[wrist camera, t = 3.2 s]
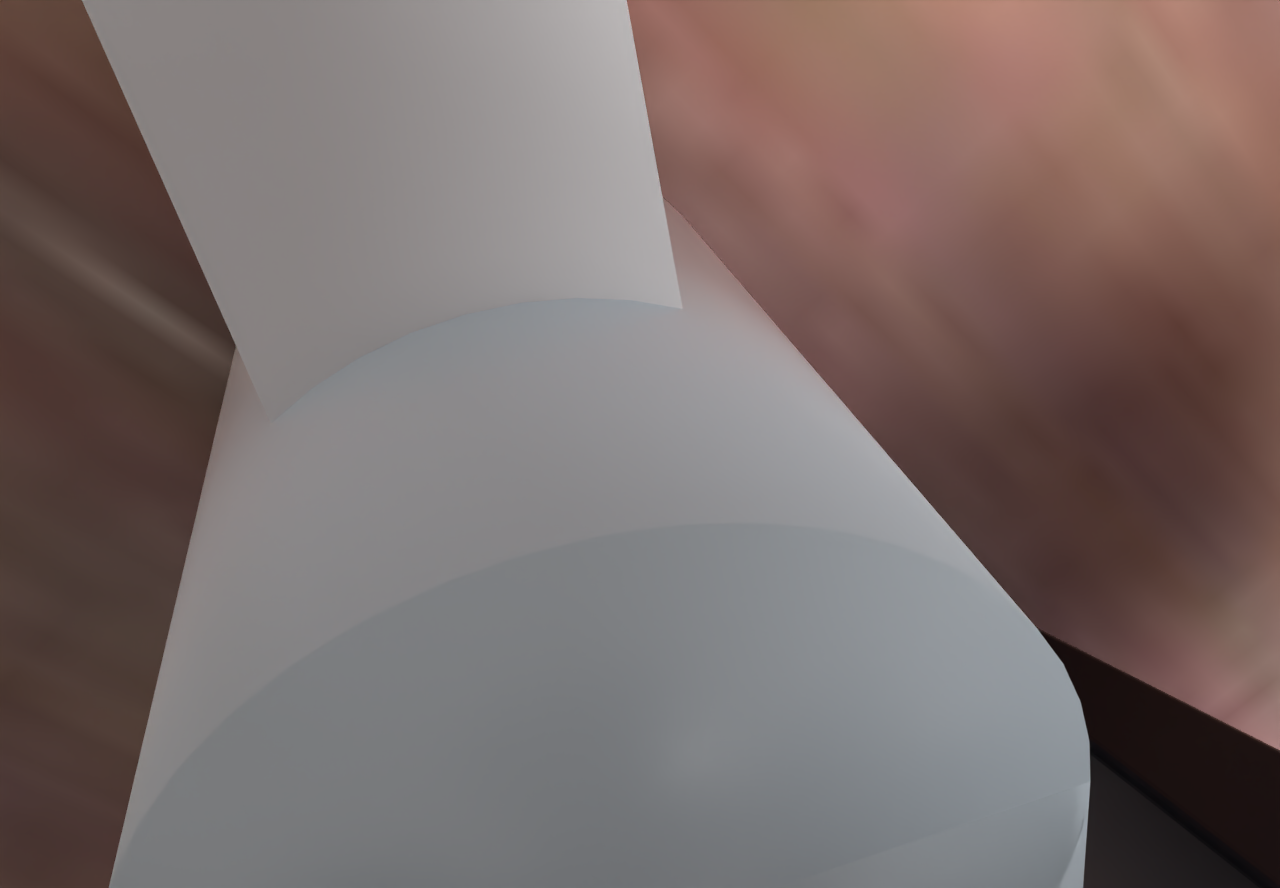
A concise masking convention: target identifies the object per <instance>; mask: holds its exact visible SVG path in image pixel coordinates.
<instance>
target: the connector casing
mask: <svg viewBox="0 0 1280 888" xmlns="http://www.w3.org/2000/svg"><path fill="white" fill-rule="evenodd" d="M82 2H83V4H84V6H85V8H86V11H87V13H88V15H89V17H90V20H91V22H92V24H93V26H94V29H95V31H96V33H97V35H98V38H99V40H100V42H101V44H102V46H103V49H104V51H105V53H106V55H107V58H108V60H109V62H110V64H111V67H112V69H113V71H114V73H115V76H116V78H117V80H118V82H119V85H120V87H121V89H122V91H123V94H124V96H125V98H126V100H127V103H128V105H129V107H130V109H131V111H132V114H133V116H134V118H135V120H136V123H137V125H138V127H139V129H140V132H141V134H142V136H143V138H144V141H145V143H146V145H147V147H148V150H149V152H150V154H151V156H152V159H153V161H154V163H155V165H156V168H157V170H158V172H159V174H160V177H161V179H162V181H163V183H164V185H165V188H166V190H167V192H168V194H169V197H170V199H171V201H172V203H173V206H174V208H175V210H176V212H177V215H178V217H179V219H180V221H181V224H182V226H183V228H184V230H185V233H186V235H187V237H188V239H189V242H190V244H191V246H192V248H193V250H194V253H195V255H196V257H197V259H198V262H199V264H200V266H201V268H202V271H203V273H204V275H205V277H206V280H207V282H208V284H209V286H210V289H211V291H212V293H213V295H214V298H215V300H216V302H217V304H218V307H219V309H220V311H221V313H222V316H223V318H224V320H225V322H226V324H227V327H228V329H229V331H230V333H231V336H232V338H233V340H234V342H235V345H236V347H235V352H234V356H233V360H232V364H231V369H230V373H229V377H228V381H227V386H226V390H225V394H224V398H223V403H222V407H221V411H220V415H219V420H218V424H217V428H216V433H215V437H214V441H213V445H212V450H211V454H210V458H209V462H208V467H207V471H206V475H205V479H204V484H203V488H202V492H201V497H200V501H199V505H198V509H197V514H196V518H195V522H194V526H193V531H192V535H191V539H190V543H189V548H188V552H187V556H186V561H185V565H184V569H183V573H182V578H181V582H180V586H179V590H178V595H177V599H176V603H175V607H174V612H173V616H172V620H171V625H170V629H169V633H168V637H167V642H166V646H165V650H164V654H163V659H162V663H161V667H160V671H159V676H158V680H157V684H156V688H155V693H154V697H153V701H152V706H151V710H150V714H149V718H148V723H147V727H146V731H145V735H144V740H143V744H142V748H141V752H140V757H139V761H138V765H137V770H136V774H135V778H134V782H133V787H132V791H131V795H130V799H129V804H128V808H127V812H126V816H125V821H124V825H123V829H122V834H121V838H120V842H119V846H118V851H117V855H116V859H115V863H114V868H113V872H112V876H111V880H110V885H109V888H1083V881H1084V866H1085V852H1086V837H1087V823H1088V808H1089V794H1090V744H1089V737H1088V733H1087V728H1086V724H1085V719H1084V715H1083V710H1082V706H1081V702H1080V699H1079V697H1078V695H1077V693H1076V691H1075V688H1074V686H1073V684H1072V682H1071V680H1070V677H1069V675H1068V673H1067V671H1066V669H1065V667H1064V664H1063V663H1062V661H1061V660H1060V659H1059V657H1058V656H1057V655H1056V653H1055V652H1054V651H1053V649H1052V648H1051V647H1050V645H1049V644H1048V643H1047V641H1046V640H1045V638H1044V637H1043V636H1042V634H1041V633H1040V632H1039V630H1038V629H1037V628H1036V627H1035V625H1034V624H1033V623H1032V622H1031V621H1030V620H1029V618H1028V617H1027V616H1026V615H1025V614H1024V613H1023V611H1022V610H1021V609H1020V608H1019V607H1018V606H1017V604H1016V603H1015V602H1014V601H1013V600H1012V599H1011V597H1010V596H1009V595H1008V594H1007V593H1006V592H1005V591H1004V589H1003V588H1002V587H1001V586H1000V585H999V584H998V582H997V581H996V580H995V579H994V578H993V577H992V575H991V574H990V573H989V572H988V571H987V570H986V568H985V567H984V566H983V565H982V564H981V563H980V561H979V560H978V559H977V558H976V557H975V556H974V554H973V553H972V552H971V551H970V550H969V549H968V547H967V546H966V545H965V544H964V543H963V542H962V540H961V539H960V538H959V537H958V536H957V535H956V533H955V532H954V531H953V530H952V529H951V528H950V527H949V525H948V524H947V523H946V522H945V521H944V520H943V518H942V517H941V516H940V515H939V514H938V513H937V511H936V510H935V509H934V508H933V507H932V506H931V504H930V503H929V502H928V501H927V500H926V499H925V497H924V496H923V495H922V494H921V493H920V492H919V490H918V489H917V488H916V487H915V486H914V485H913V483H912V482H911V481H910V480H909V479H908V478H907V476H906V475H905V474H904V473H903V472H902V471H901V469H900V468H899V467H898V466H897V465H896V464H895V463H894V461H893V460H892V459H891V458H890V457H889V456H888V454H887V453H886V452H885V451H884V450H883V449H882V447H881V446H880V445H879V444H878V443H877V442H876V440H875V439H874V438H873V437H872V436H871V435H870V433H869V432H868V431H867V430H866V429H865V428H864V426H863V425H862V424H861V423H860V422H859V421H858V419H857V418H856V417H855V416H854V415H853V414H852V412H851V411H850V410H849V409H848V408H847V407H846V406H845V404H844V403H843V402H842V401H841V400H840V399H839V397H838V396H837V395H836V394H835V393H834V392H833V390H832V389H831V388H830V387H829V386H828V385H827V383H826V382H825V381H824V380H823V379H822V378H821V376H820V375H819V374H818V373H817V372H816V371H815V369H814V368H813V367H812V366H811V365H810V364H809V362H808V361H807V360H806V359H805V358H804V357H803V355H802V354H801V353H800V352H799V351H798V350H797V348H796V347H795V346H794V345H793V344H792V343H791V342H790V340H789V339H788V338H787V337H786V336H785V335H784V333H783V332H782V331H781V330H780V329H779V328H778V326H777V325H776V324H775V323H774V322H773V321H772V319H771V318H770V317H769V316H768V315H767V314H766V312H765V311H764V310H763V309H762V308H761V307H760V305H759V304H758V303H757V302H756V301H755V300H754V298H753V297H752V296H751V295H750V294H749V293H748V291H747V290H746V289H745V288H744V287H743V286H742V284H741V283H740V282H739V281H738V280H737V279H736V278H735V276H734V275H733V274H732V273H731V272H730V271H729V269H728V268H727V267H726V266H725V265H724V264H723V262H722V261H721V260H720V259H719V258H718V257H717V255H716V254H715V253H714V252H713V251H712V250H711V248H710V247H709V246H708V245H707V244H706V243H705V241H704V240H703V239H702V238H701V237H700V236H699V234H698V233H697V232H696V231H695V230H694V229H693V227H692V226H691V225H690V224H689V223H688V222H687V221H686V219H685V218H684V217H683V216H682V215H681V214H680V213H679V212H678V211H677V210H676V209H675V208H674V207H673V206H672V205H671V204H670V203H669V202H668V201H667V200H666V199H665V198H664V197H662V192H661V187H660V181H659V176H658V170H657V165H656V159H655V154H654V148H653V143H652V137H651V132H650V126H649V121H648V115H647V110H646V104H645V99H644V93H643V88H642V82H641V77H640V71H639V66H638V60H637V55H636V49H635V44H634V38H633V33H632V27H631V22H630V16H629V11H628V5H627V0H82Z"/></svg>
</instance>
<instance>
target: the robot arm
mask: <svg viewBox="0 0 1280 888" xmlns="http://www.w3.org/2000/svg"><path fill="white" fill-rule="evenodd" d="M1037 629H1038V628H1037ZM1038 630H1039V632H1040V633H1041V634H1042V636H1043V637H1044V638H1045V640H1046V641H1047V643H1048V644H1049V645H1050V647H1051V648H1052V649H1053V651H1054V652H1055V653H1056V655H1057V656H1058V657H1059V659H1060V660H1061V661H1062V663H1063V664H1064V667H1065V669H1066V671H1067V673H1068V675H1069V677H1070V680H1071V682H1072V684H1073V686H1074V688H1075V691H1076V693H1077V695H1078V697H1079V699H1080V702H1081V706H1082V710H1083V715H1084V719H1085V724H1086V728H1087V733H1088V737H1089V744H1090V794H1089V808H1088V823H1087V837H1086V852H1085V866H1084V881H1083V888H1280V750H1278V749H1276V748H1274V747H1272V746H1270V745H1268V744H1266V743H1264V742H1262V741H1260V740H1258V739H1256V738H1254V737H1252V736H1250V735H1248V734H1246V733H1244V732H1242V731H1240V730H1238V729H1236V728H1234V727H1232V726H1230V725H1228V724H1226V723H1224V722H1222V721H1220V720H1218V719H1216V718H1214V717H1212V716H1210V715H1208V714H1206V713H1204V712H1202V711H1201V710H1199V709H1197V708H1195V707H1193V706H1191V705H1189V704H1187V703H1185V702H1183V701H1181V700H1179V699H1177V698H1175V697H1173V696H1171V695H1169V694H1167V693H1165V692H1163V691H1161V690H1159V689H1157V688H1155V687H1153V686H1151V685H1149V684H1147V683H1145V682H1143V681H1141V680H1139V679H1137V678H1135V677H1133V676H1131V675H1129V674H1127V673H1125V672H1123V671H1121V670H1119V669H1117V668H1115V667H1113V666H1111V665H1109V664H1107V663H1105V662H1103V661H1101V660H1099V659H1097V658H1095V657H1093V656H1091V655H1089V654H1087V653H1085V652H1083V651H1081V650H1079V649H1077V648H1075V647H1073V646H1072V645H1070V644H1068V643H1066V642H1064V641H1062V640H1060V639H1058V638H1056V637H1054V636H1052V635H1050V634H1048V633H1046V632H1044V631H1042V630H1040V629H1038Z"/></svg>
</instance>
